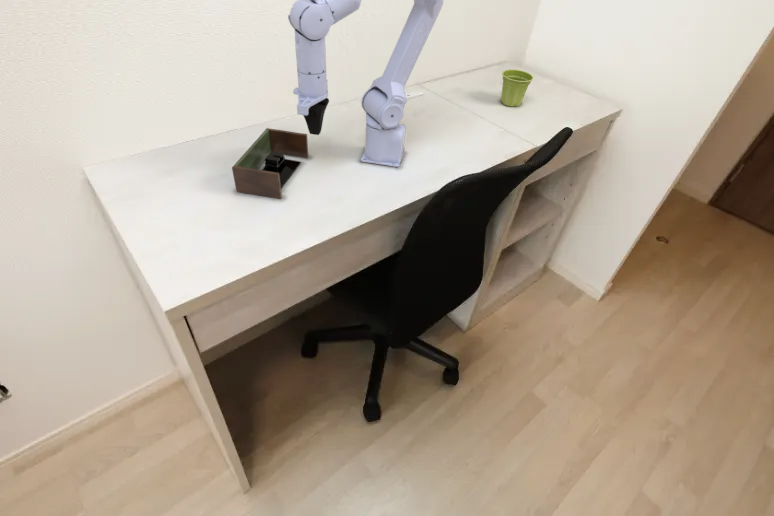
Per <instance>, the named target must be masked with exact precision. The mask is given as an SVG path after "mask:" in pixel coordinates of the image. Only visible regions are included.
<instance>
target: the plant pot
mask: <svg viewBox="0 0 774 516" xmlns="http://www.w3.org/2000/svg"><path fill="white" fill-rule="evenodd" d="M501 74H502V89H501V97H500V102H501V103H502V105H505V106H508V107H520V106H521V104H522V102H523V99H524V97H525V94H526V92H527V91H528V88H529V86H530V84H531V82H533V80H534V75H532V74H531V73H529V72H527V71H525V70H520V69H505V70H503V71H502V73H501Z"/></svg>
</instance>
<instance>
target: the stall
mask: <svg viewBox="0 0 774 516" xmlns="http://www.w3.org/2000/svg"><path fill="white" fill-rule="evenodd" d="M271 151H274V152H279V153H284V156H289V157H296V158H302V159H309V156H310V155H309V141H308V133H301V132H297V131H295V132H294V131H289V130H281V129H276V128H269V127H267V128H265V130H264V131H262V133H261V134H260V135H259V136H258V137H257V139H255V141H253V143H252V144H251V145H250V147H248V149H247V150H246V151H245V152H244V153H243V155H241V156H240V158H239V159H238V160H237V161H236V162H235V164H234V165H232V166H231V171H232V175H233V176H232V177H233V179H234V186H235V191H236V193H241V194H247V195H252V196H253V195H254V196H259V197H265V198H272V199H278V200H281V199H282V198H283V195H282V189H281V185H280V176H279V173H276V172H270V171H264V170H262V169H260V168H261V167H262V165H263V164H265V158H266V157H267V156H268V155H269V154H270V153H271Z"/></svg>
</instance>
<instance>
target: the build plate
mask: <svg viewBox="0 0 774 516" xmlns="http://www.w3.org/2000/svg"><path fill="white" fill-rule="evenodd" d="M285 156H286V155H284V153H279V152H274V151H271V153H270V154H269V155H268V156H267V157H266V158H265V162H264V167H263V168H262V169H261V170H264V171H270V172H276V173H279V176H280V185H281V190H282V189H283V188H284V186H285V185H286V183H288V181H289V180H290V178H291V177H292V176H293V174H294V173H295V172H296V170H298V168H299V166H300V165H301V164H302V162H301V161H298V160H292V159H286V158H285Z"/></svg>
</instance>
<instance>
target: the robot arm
mask: <svg viewBox="0 0 774 516" xmlns="http://www.w3.org/2000/svg"><path fill="white" fill-rule="evenodd" d="M361 3H362V0H296V1H295V2H294V3H293V4H292V7H291V8H290V11H289V14H288V15H287V18H288V22H289V24H290V26H291V27H292V28H293V29H294V30H293V31H294V43H295V45H294V46H295V61H296V72H297V85H298V87H295V88H294V89H293V91H292V93H293V95H296V96H297V99H298V101H297V104H296V111H297V112H296V113H297V115H299V116H300V115H301V116H303V118H304V120H305V124H306V126H307V130H308V132H309V134H310V135H314V136H319V135H320V134H321V131H322V129H323V122H324V116H325V112H326V110H327V107H328V105H329V103H330V99H329V98H328V97H329V90H328V88H329V87H328V86H329V85H328V78H327V55H326V53H327V52H326V37H327V35H328V34H329V32H330V29H331V27H332V26H333V25H336V24H337V23H338V22H340V21H342V20H343V19H345V18H347V17H349V16H350V15H351V14H353V13H355V12H357V11H358V10H359V9H360V7H361ZM443 5H444V0H413V5H412V8H411V10H410V12H409V14H408V17H407V19H406V21H405V24H404V26H403V28H402V30H401V32H400V34H399V38H398V39H397V41H396V44H395V47H394V48H393V51H392V53H391V55H390V57H389V60H388V61H387V64H386V67H385V69H384V72H383V73H382V75H381V76H379V77H377V78H375V79H374V80H373V81H372V83H371V85H370V86H369V88H368V89H367V90H366V91H365V92H364V93H363V95H362V97H361V108H362V110H363V111H364V112H365V140H364V148H365V149H364V151H363V153H362V155H361V158H360V162H362V163H369V164H375V165H381V166H389V167H394V168H399V167H400V165H401V162H402V159H403V156H404V153H405V141H406V140H405V139H406V125H405V124H402V123H401V122H402V120H403V117H404V113H405V107H406V104H407V102H408V98H407V94H406V89H405V88H406V85H407V83H408V81H409V78H410V76H411V74H412V72H413V70H414V68H415V66H416V64H417V61H418V59H419V57H420V55H421V53H422V51H423V48H424V47H425V44H426V42H427V40H428V38H429V36H430V34H431V31H432V29H433V27H434V25H435V23H436V21H437V19H438V16H439V15H440V12H441V10H442V7H443Z"/></svg>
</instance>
